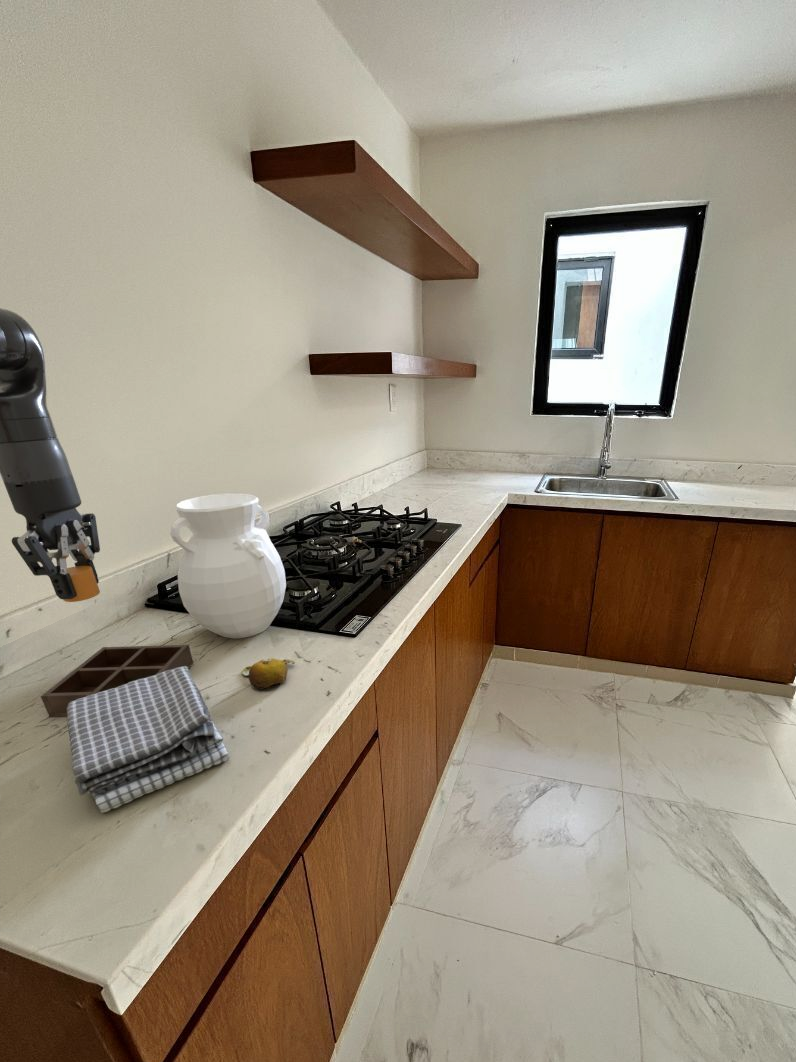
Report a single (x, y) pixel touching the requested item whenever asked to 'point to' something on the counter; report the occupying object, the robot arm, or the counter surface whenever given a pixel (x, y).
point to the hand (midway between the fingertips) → (79, 590)
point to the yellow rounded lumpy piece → (267, 672)
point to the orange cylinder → (83, 583)
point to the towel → (141, 737)
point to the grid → (113, 672)
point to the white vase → (228, 565)
